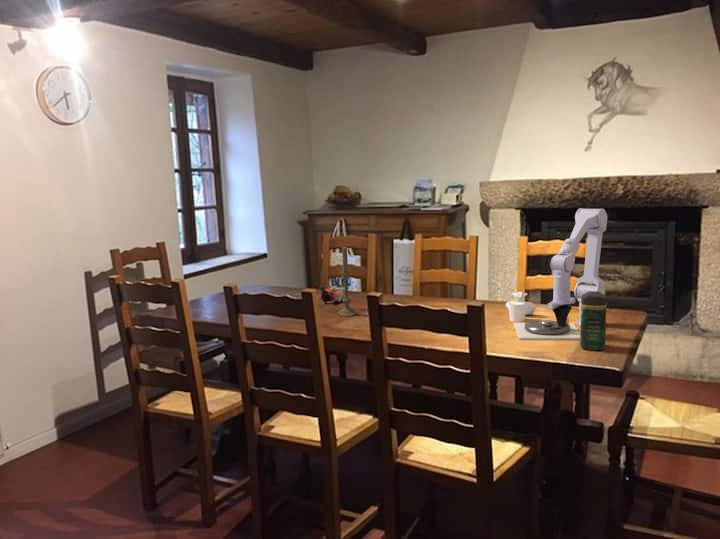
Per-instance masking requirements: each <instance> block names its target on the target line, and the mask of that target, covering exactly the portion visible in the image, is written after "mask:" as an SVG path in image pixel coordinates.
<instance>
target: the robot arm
mask: <svg viewBox="0 0 720 539" xmlns="http://www.w3.org/2000/svg"><path fill="white" fill-rule="evenodd" d="M574 219H575V224H574V227H573V229H572V231H571V234H570V237H569V238H566V239H565V240H564V241H563V244H562V245H561V247H560V248H559V250H558V253H557V254H555V255H553V256H552V258H551V260H550V264H549V266H550V269H551V275H552V276H553V286H552V288H553V294H552V295H553V298H552V301H550V302H548V303H547V310H552V312H553V313H554V315H555V319H556V321H557V324H558V326H565V324H566V320H567V317H568V316H569V314H570V313H571V310H572V307H573V306H572V304H576V299H577V302H579V304H578V306H579V308H578V320H576V321H575V322H576V323H577V324H578V326H579V327H581V297H582V295H583V294H585V293H587V292H588V291H593V292H601V293H602V294H604V295H605V296H606V288H605V281H604V280H602V278H600V277H599V271H600V270H599V269H600V258H601V250H602V241H603V233H604V232H606V231H607V224H608V214H607V211H606V210H605V209H604V208H581V207H580V208H578V209H577V210H576V212H575V215H574ZM585 234H587V241H586V251H585V261H584V270H583V275H582V276H580V277H579V278H578V279H577V280H576V283H575V284H576V285H575V287H574V289H573V290H574V291H573V294H574V297H571V272H572V271H573V270H574V266H575V261H576V256H577V254H578V253H579V252H578V251H579V250H580V247H581V244H580V242H581V240H582V238H583V237H584V235H585Z"/></svg>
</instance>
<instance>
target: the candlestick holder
mask: <svg viewBox="0 0 720 539" xmlns="http://www.w3.org/2000/svg"><path fill="white" fill-rule="evenodd" d="M341 253H342V254H341V255H342V256H341V258H342V271H341V275H342V276H341V278H342V280H343V289H344V290H343V291H345V292H344V299H343V300H342V304H344V307H343V309H340V310H339V311H337V313H338V314H341V315H350V314H354V313H356V312H357V311H356V310H355V309H353V308H351V307H350V304H351V301H352V300H351V298H350V297H349V281H348V280H349V279H350V274H351V271H349V268H348V267H349V262H348V260H349V259H348V247H346V246H343V247H341Z"/></svg>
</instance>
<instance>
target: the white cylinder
mask: <svg viewBox="0 0 720 539" xmlns="http://www.w3.org/2000/svg"><path fill="white" fill-rule="evenodd" d="M509 302H510V301H509ZM507 303H508V302H507ZM508 304H509V312H508V315H509V320H510V322H512V323H524V322H525V321H526V320H525V319H526V315H525V311H526V303H524V302H510V303H508Z"/></svg>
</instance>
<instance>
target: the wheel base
mask: <svg viewBox="0 0 720 539" xmlns="http://www.w3.org/2000/svg"><path fill="white" fill-rule="evenodd" d="M526 323H527V322H513V326H514V329H515V332H516V335H517V338H518V340H519V341H580V333H581V330H580V329H578V327H577V326H576V325H575V323H574V322H569V325H570V331H569V332H566V333H561V334H539V333H533V332H529V331H527V330H525V324H526Z"/></svg>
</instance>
